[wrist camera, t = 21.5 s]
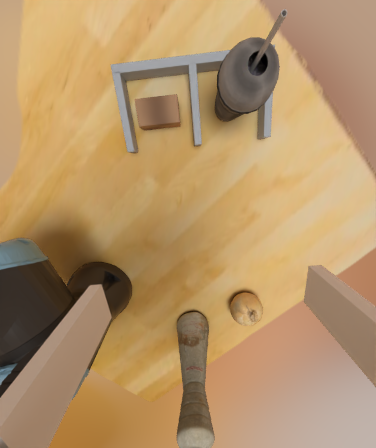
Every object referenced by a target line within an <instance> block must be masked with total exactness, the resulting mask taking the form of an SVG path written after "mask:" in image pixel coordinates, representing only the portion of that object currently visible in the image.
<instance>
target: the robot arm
mask: <svg viewBox="0 0 376 448" xmlns="http://www.w3.org/2000/svg"><path fill="white" fill-rule="evenodd" d="M48 259H49V258H48V256H45V255H44V253H43V252H42V251H41V250H40V248H39V247H38V246H37V245H36V243H35V242H34V241H32V240H30V239H27V238H16V239H12V240H9V241H6V242H2V243H0V448H48V447H49V445H50V443H51V441H52V439H53V437H54V435H55V433H56V431H57V429H58V426H59V424H60V422H61V420H62V418H63V416H64V414H65V412H66V410H67V408H68V406H69V404H70V402H71V400H72V399H73V398H74V397H75V395H76V394H77V392H78V390H79V388H80V386H81V385H82V383H83V381H84V379H85V377H87V375H88V373H89V370H90V368H91V366H92V364H93V361H94V359H95V357H96V355H97V353H98V350H99V348H100V346H101V344H102V342H103V339H104V337H105V335H106V333H107V331H108V328H109V326H110V324H111V322H112V321H113V320H114V319H115V318H116V317H117V316H118V314H119V313H121V312H122V311H123V310H124V309H125V308H126V306H127V305H128V303H129V300H130V298H131V295H132V285H131V282H130V280H129V278H128V277H127V275H126V274H125V273H124V272H123V271H122V270H120V269H119V268H117V267H115V266H113V265H111V264H108V263H103V262H93V263H88V264H86V265H83V266H82V267H80V268H79V269H78V270H77V271H76V272H75V273H74V274H73V275H72V276H71V278H70V279H69V281H68V284H67V286H66V285H65V283H64V282H63V280H62V279H61V278H60V276H59V275H58V273H57V272H56V270H55V269H54V267H53V266H52V265H51V263H50V262H49V260H48ZM304 303H305V304H306V305H307V306H308V307H309V308H310V310H311V311H312V312H313V313H314V314H315V316H316V317H317V318H318V319H319V320H320V322H321V323H322V324H323V325H324V326H325V327H326V329H327V330H328V331H329V332H330V333H331V335H332V336H333V337H334V338H335V339H336V340H337V342H338V343H339V344H340V345H341V346H342V348H343V349H344V350H345V351H346V352H347V353H348V355H349V356H350V357H351V358H352V360H353V361H354V362H355V363H356V364H357V365H358V367H359V368H360V369H361V370H362V371H363V373H364V374H365V375H366V376H367V377H368V379H369V380H370V381H371V382H372V383H373V384H374V386H375V387H376V306H374V305H373V304H372V303H370V302H369V301H368V300H366V299H365V298H364V297H363V296H361V295H360V294H359V293H357V292H356V291H355V290H353V289H352V288H351V287H349V286H348V285H347V284H345V283H344V282H343V281H341V280H340V279H339V278H337V277H336V276H335V275H334V274H332V273H331V272H330V271H328V270H327V269H326V268H324V267H323V266H322V265H317V266H309V268H308V275H307V282H306V289H305V296H304Z"/></svg>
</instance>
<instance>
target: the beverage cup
mask: <svg viewBox="0 0 376 448" xmlns="http://www.w3.org/2000/svg"><path fill="white" fill-rule="evenodd" d="M286 15H287V10H285V9H284V10H282V12H281V14H280V15H279V17H278V19H277V21H276V22H275V24H274V26H273V28H272V30H271V31H270V33H269V35H268V37H267V39H266V40H265V39H262V38H259V37H258V38H248V39H246V40H243V41H241V42H239V43H238V44H237V45H236V46H235V47H234V48H233V49H231V50H230V52H229V53H228V54H227V55H226V57H225V58H224V60H223V61H222V63H221V65H220V68H219V71H218V75H217V89H218V91H217V96H216V101H215V113H216V115H217V117H218V118H219V119H220V120H222V121H230V120H233V119H235V118H237V117H239V116H241V115H243V114H248V113H251V112H253V111H256V110H258V109H259V108H260V107H261V106H263V105H264V104H265V102H266V101H267V100H268V98H269V97H270V95H271V93H272V92H273V90H274V88H275V85H276V83H277V80H278V75H279V67H280V66H279V59H278V54H277V52H276V50H275V48H274V46H273V45H272V44H271V43H270V42H271V41H272V39H273V37H274V36H275V34H276V32H277V30H278V29H279V27H280V25H281V23H282V22H283V20H284V19H285V17H286Z"/></svg>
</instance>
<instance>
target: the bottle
mask: <svg viewBox="0 0 376 448" xmlns="http://www.w3.org/2000/svg"><path fill="white" fill-rule="evenodd" d="M177 332H178V342H179V353H180V362H181V371H182V382H183V390H184V391H183V397H182V404H181V412H180V417H179V424H178V430H177V443H178V446H179V448H211V447H212V446H213V443H214V440H215V437H214V432H213V427H212V423H211V417H210V413H209V407H208V403H207V399H206V392H205V378H206V360H207V346H208V333H209V325H208V322H207V320H206V317H204V316H203V315H201V314H200V313H198V312H190V313H186V314H183V315H182V316H181V317H180V319H179V320H178V323H177Z"/></svg>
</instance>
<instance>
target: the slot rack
mask: <svg viewBox="0 0 376 448" xmlns="http://www.w3.org/2000/svg"><path fill="white" fill-rule="evenodd" d="M273 46H274V48H275V45H273ZM229 52H230V50H227V51H219V52H210V53H202V54H194V55H186V56H178V57H169V58H161V59H153V60H145V61H137V62H128V63H120V64H112V65H111V69H112V74H113V79H114V84H115V90H116V95H117V100H118V105H119V110H120V115H121V120H122V126H123V131H124V136H125V141H126V146H127V151H128V152H130V153H136V152H138V147H137V142H136V136H135V130H134V125H133V119H132V113H131V108H130V102H129V96H128V91H127V85H126V81H130V80H139V79H147V78H155V77H164V76H172V75H181V74H189V85H190V98H191V110H192V123H193V135H194V146H201V144H202V142H201V127H200V113H199V98H198V83H197V73H198V72H206V71H214V70H219V68H220V65H221V63H222V61H223V60H224V58H225V57H226V55H227V54H228V53H229ZM272 97H273V92H272V93H271V95H270V97H269V98H268V100H267V101H266V102H265V104H264V105H263V106H261V107H260V108H259V109H258V139H265V138H268V137H271V118H272Z"/></svg>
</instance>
